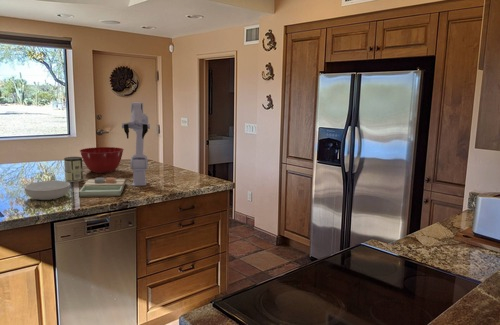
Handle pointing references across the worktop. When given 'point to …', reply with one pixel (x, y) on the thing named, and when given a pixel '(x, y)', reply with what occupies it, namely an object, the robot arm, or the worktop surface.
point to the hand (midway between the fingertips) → (135, 137)
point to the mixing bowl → (102, 158)
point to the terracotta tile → (110, 180)
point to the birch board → (117, 183)
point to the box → (100, 191)
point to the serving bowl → (47, 189)
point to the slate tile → (99, 180)
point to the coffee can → (73, 169)
